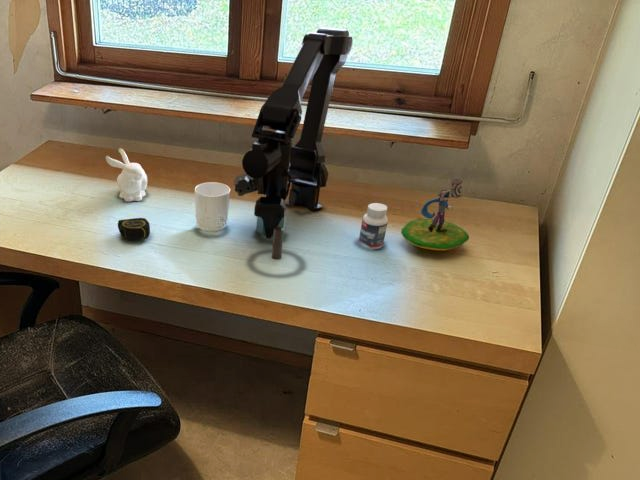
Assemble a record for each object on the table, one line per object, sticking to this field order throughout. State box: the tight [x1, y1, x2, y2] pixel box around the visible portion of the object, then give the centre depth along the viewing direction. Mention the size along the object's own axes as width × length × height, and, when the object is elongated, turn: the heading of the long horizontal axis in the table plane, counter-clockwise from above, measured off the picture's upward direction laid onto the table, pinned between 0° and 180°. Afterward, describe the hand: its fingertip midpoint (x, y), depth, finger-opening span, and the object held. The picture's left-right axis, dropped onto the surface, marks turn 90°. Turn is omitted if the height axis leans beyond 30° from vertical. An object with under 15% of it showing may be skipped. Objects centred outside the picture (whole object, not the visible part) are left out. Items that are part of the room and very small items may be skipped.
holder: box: [271, 227, 285, 261], centre depth 142 cm, size 11×11×8 cm
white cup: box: [194, 181, 231, 232], centre depth 155 cm, size 8×8×10 cm
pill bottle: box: [358, 202, 389, 250], centre depth 148 cm, size 5×5×9 cm
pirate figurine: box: [400, 178, 470, 251], centre depth 145 cm, size 14×13×15 cm
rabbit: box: [105, 147, 149, 203], centre depth 171 cm, size 12×9×12 cm
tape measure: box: [117, 217, 151, 242], centre depth 154 cm, size 7×7×4 cm
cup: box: [255, 207, 288, 238], centre depth 153 cm, size 6×6×7 cm
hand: (270, 229), depth 154 cm, fingers open, 8 cm apart
